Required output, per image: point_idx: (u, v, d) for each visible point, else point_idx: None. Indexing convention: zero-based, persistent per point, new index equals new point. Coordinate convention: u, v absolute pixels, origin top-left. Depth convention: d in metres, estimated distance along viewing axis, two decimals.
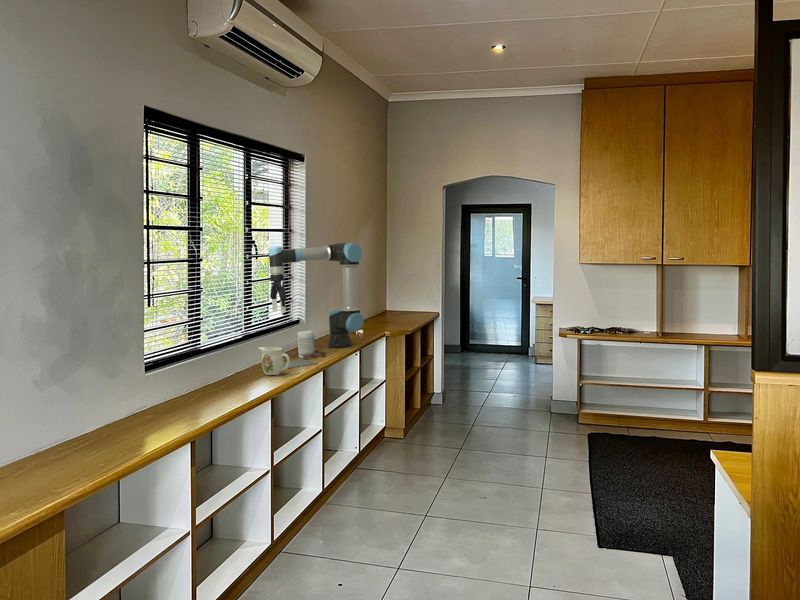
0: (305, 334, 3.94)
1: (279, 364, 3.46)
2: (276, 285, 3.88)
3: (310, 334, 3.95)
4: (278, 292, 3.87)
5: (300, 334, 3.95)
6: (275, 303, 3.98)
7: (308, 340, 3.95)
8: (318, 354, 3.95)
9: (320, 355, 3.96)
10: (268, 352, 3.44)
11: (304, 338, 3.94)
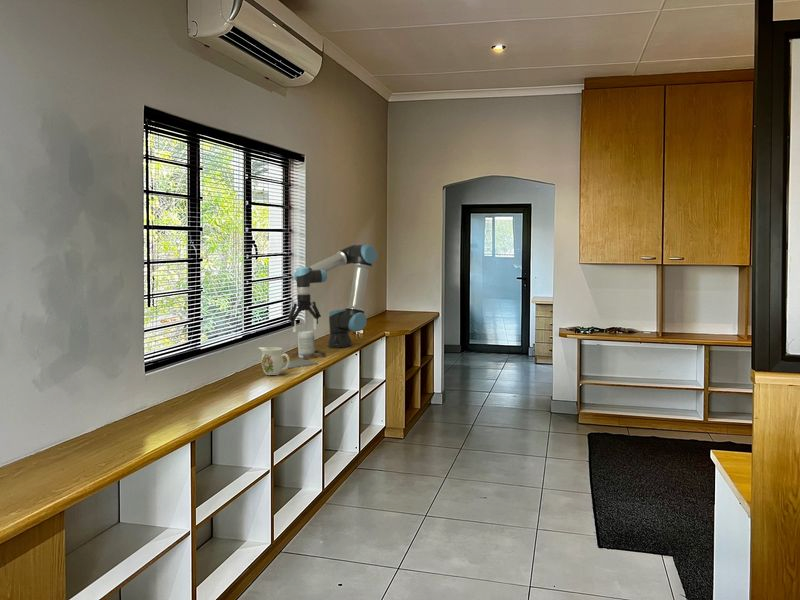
0: (305, 334, 3.94)
1: (279, 364, 3.46)
2: None
3: (310, 334, 3.95)
4: None
5: (300, 334, 3.95)
6: (314, 323, 4.01)
7: (308, 340, 3.95)
8: (318, 354, 3.95)
9: (320, 355, 3.96)
10: (268, 352, 3.44)
11: (304, 338, 3.94)
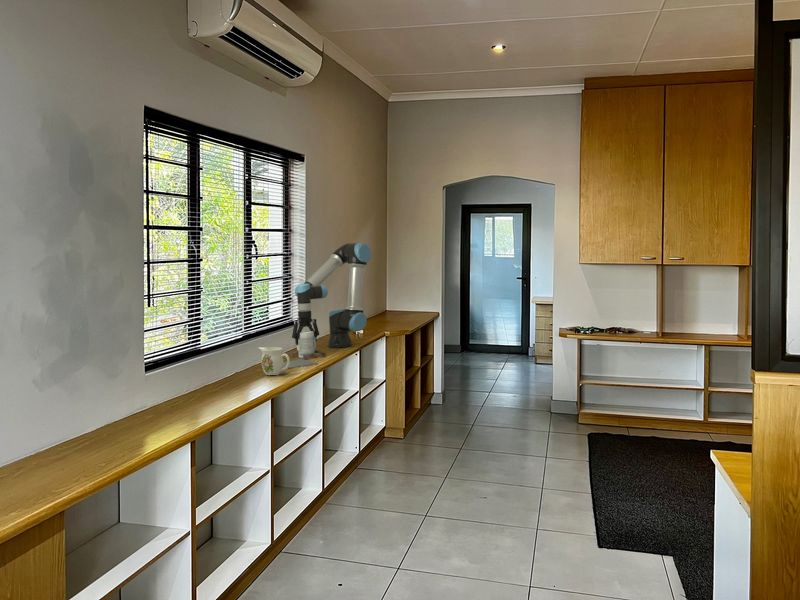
0: (305, 334, 3.94)
1: (279, 364, 3.46)
2: None
3: (310, 334, 3.95)
4: None
5: (300, 334, 3.95)
6: None
7: (308, 340, 3.95)
8: (318, 354, 3.95)
9: (320, 355, 3.96)
10: (268, 352, 3.44)
11: (304, 338, 3.94)
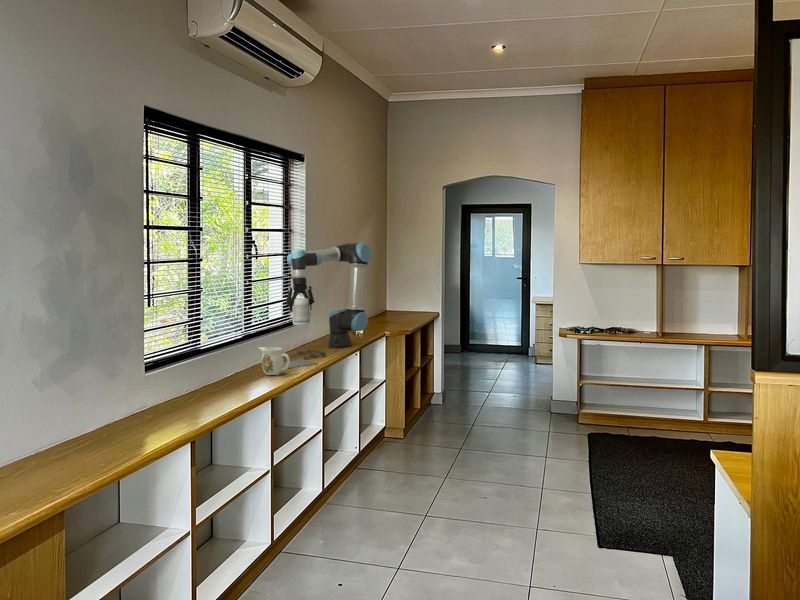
0: (299, 301, 3.86)
1: (279, 364, 3.46)
2: None
3: (305, 301, 3.87)
4: None
5: (294, 301, 3.86)
6: None
7: (303, 306, 3.86)
8: (318, 354, 3.95)
9: (320, 355, 3.96)
10: (268, 352, 3.44)
11: (298, 305, 3.86)
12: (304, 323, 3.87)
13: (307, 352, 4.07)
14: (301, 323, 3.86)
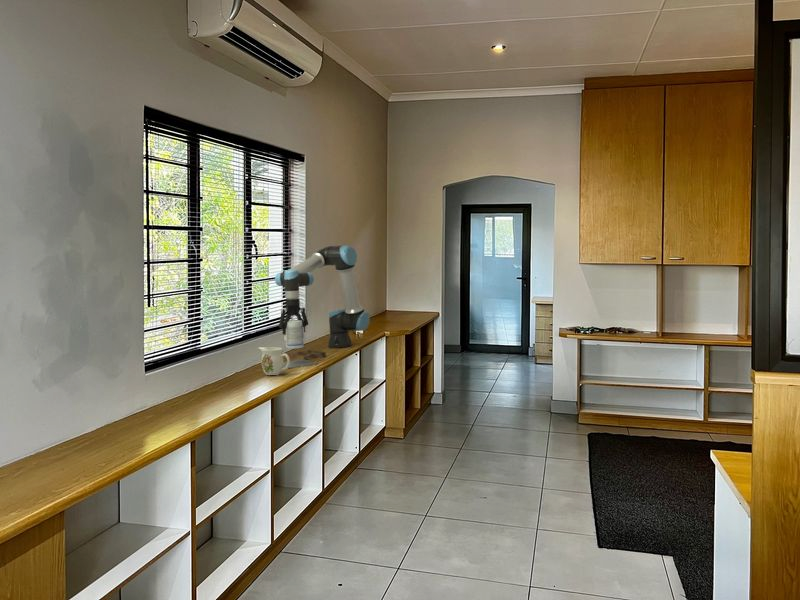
0: (293, 323, 3.71)
1: (279, 364, 3.46)
2: None
3: (298, 323, 3.72)
4: None
5: (287, 323, 3.71)
6: None
7: (296, 329, 3.71)
8: (318, 354, 3.95)
9: (320, 355, 3.96)
10: (268, 352, 3.44)
11: (292, 327, 3.71)
12: (298, 346, 3.72)
13: (307, 352, 4.07)
14: (295, 346, 3.72)
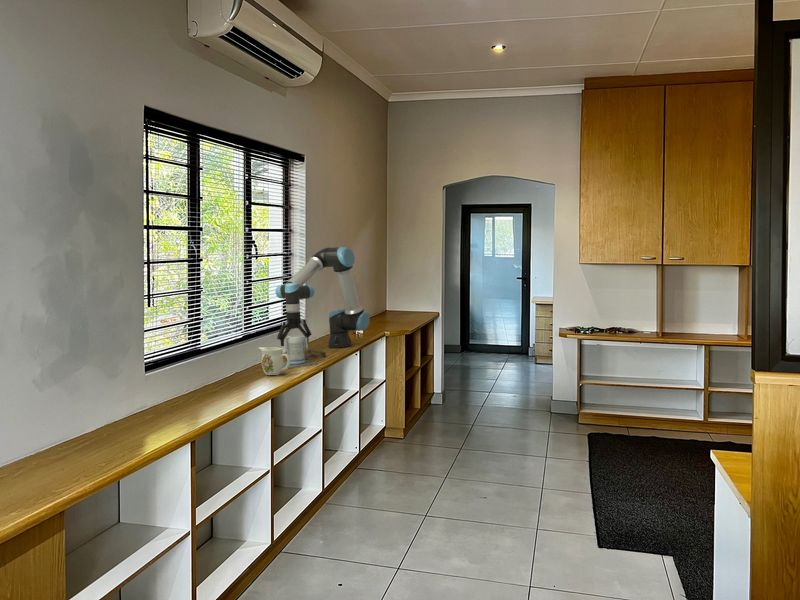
0: (294, 339, 3.72)
1: (279, 364, 3.46)
2: None
3: (299, 339, 3.73)
4: None
5: (289, 339, 3.73)
6: (305, 341, 3.80)
7: (298, 345, 3.72)
8: (318, 354, 3.95)
9: (320, 355, 3.96)
10: (268, 352, 3.44)
11: (293, 343, 3.72)
12: (299, 362, 3.73)
13: (307, 352, 4.07)
14: (296, 362, 3.73)
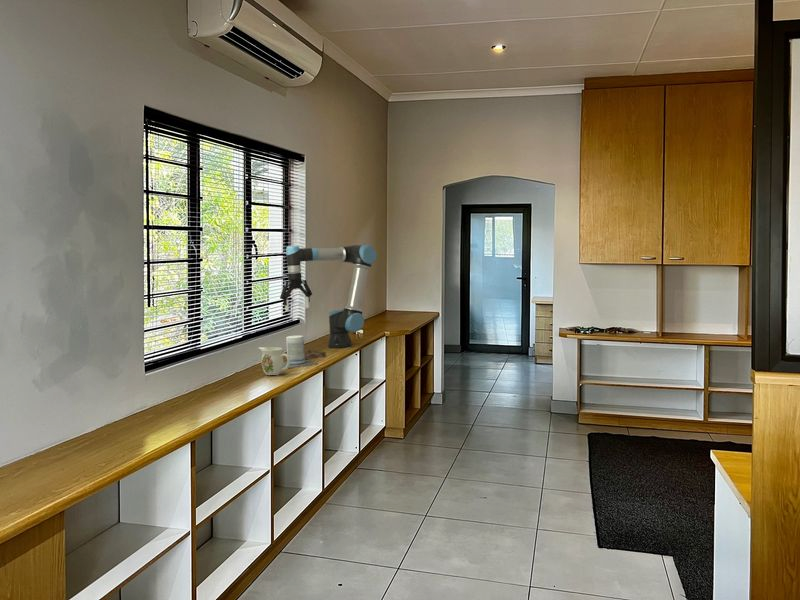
0: (294, 339, 3.72)
1: (279, 364, 3.46)
2: None
3: (299, 339, 3.73)
4: None
5: (289, 339, 3.72)
6: (306, 301, 4.03)
7: (297, 345, 3.72)
8: (318, 354, 3.95)
9: (320, 355, 3.96)
10: (268, 352, 3.44)
11: (293, 343, 3.72)
12: (299, 362, 3.73)
13: (307, 352, 4.07)
14: (296, 362, 3.73)
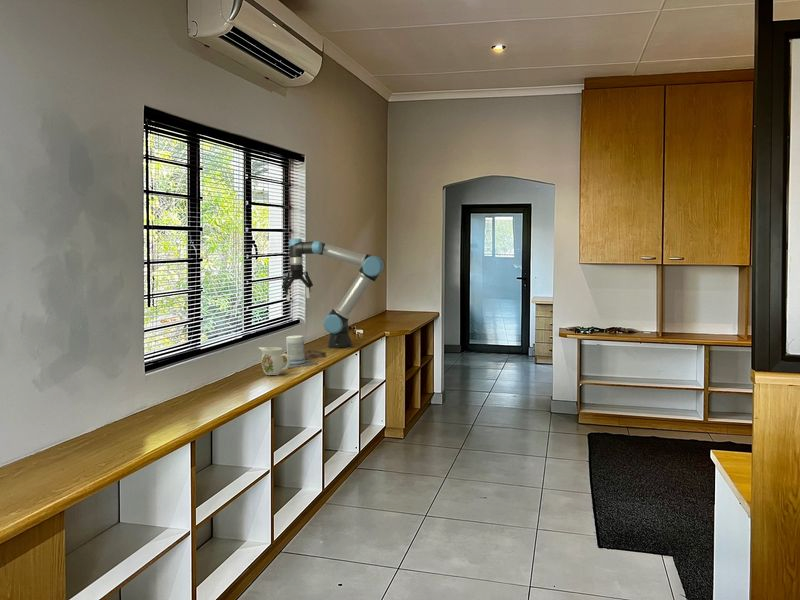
0: (294, 339, 3.72)
1: (279, 364, 3.46)
2: None
3: (299, 339, 3.73)
4: None
5: (289, 339, 3.72)
6: (307, 291, 4.24)
7: (297, 345, 3.72)
8: (318, 354, 3.95)
9: (320, 355, 3.96)
10: (268, 352, 3.44)
11: (293, 343, 3.72)
12: (299, 362, 3.73)
13: (307, 352, 4.07)
14: (296, 362, 3.73)
